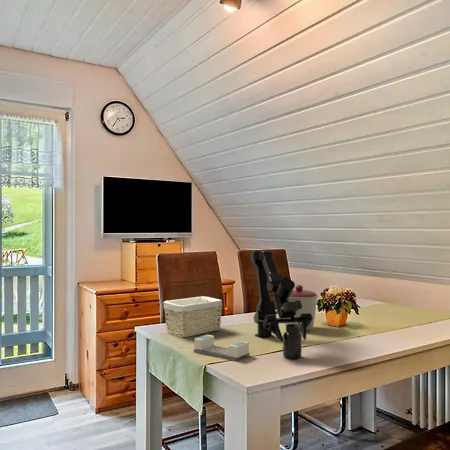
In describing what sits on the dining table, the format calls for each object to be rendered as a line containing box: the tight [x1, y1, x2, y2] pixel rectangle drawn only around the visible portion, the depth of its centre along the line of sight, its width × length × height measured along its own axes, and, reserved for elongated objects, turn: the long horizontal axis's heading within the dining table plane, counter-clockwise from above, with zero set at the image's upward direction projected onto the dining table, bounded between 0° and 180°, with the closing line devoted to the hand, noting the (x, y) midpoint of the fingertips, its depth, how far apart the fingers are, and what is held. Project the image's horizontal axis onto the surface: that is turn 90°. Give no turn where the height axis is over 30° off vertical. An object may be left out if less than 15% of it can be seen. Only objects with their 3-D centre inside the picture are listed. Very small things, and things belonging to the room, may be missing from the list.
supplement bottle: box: [282, 324, 303, 361], centre depth 161 cm, size 7×7×12 cm
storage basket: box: [163, 295, 223, 338], centre depth 201 cm, size 24×16×15 cm
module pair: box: [193, 334, 250, 358], centre depth 166 cm, size 20×8×4 cm, turn 55°
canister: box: [284, 284, 319, 332], centre depth 208 cm, size 18×18×21 cm
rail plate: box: [193, 345, 251, 362], centre depth 166 cm, size 20×9×1 cm, turn 55°
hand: (293, 340), depth 160 cm, fingers open, 9 cm apart
